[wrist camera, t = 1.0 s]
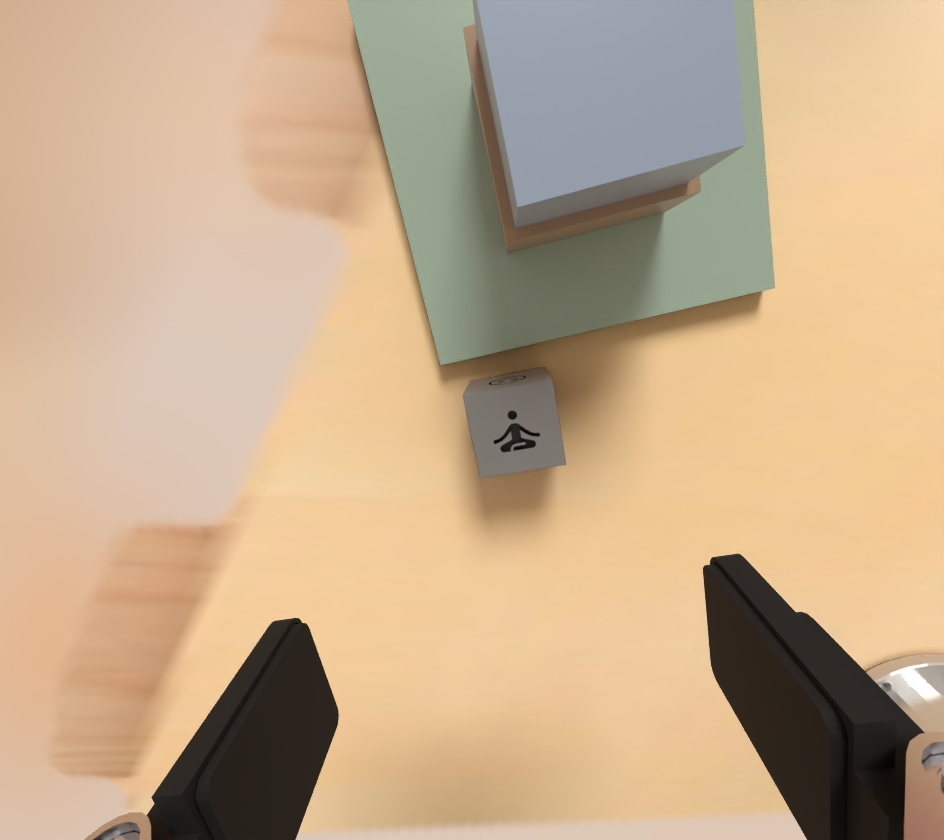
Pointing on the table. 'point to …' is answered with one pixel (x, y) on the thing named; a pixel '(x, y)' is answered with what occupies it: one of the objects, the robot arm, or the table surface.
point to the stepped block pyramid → (570, 160)
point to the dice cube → (514, 423)
